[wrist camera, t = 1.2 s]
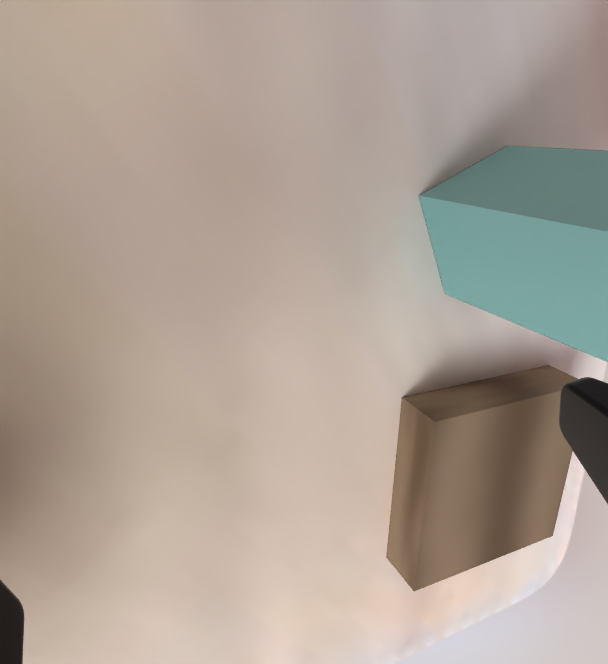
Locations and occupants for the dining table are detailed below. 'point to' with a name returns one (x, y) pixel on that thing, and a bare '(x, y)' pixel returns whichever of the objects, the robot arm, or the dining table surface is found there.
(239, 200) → the dining table surface
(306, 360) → the dining table surface
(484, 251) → the pillar
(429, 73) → the dining table surface
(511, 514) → the slab
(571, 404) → the robot arm
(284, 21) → the dining table surface
